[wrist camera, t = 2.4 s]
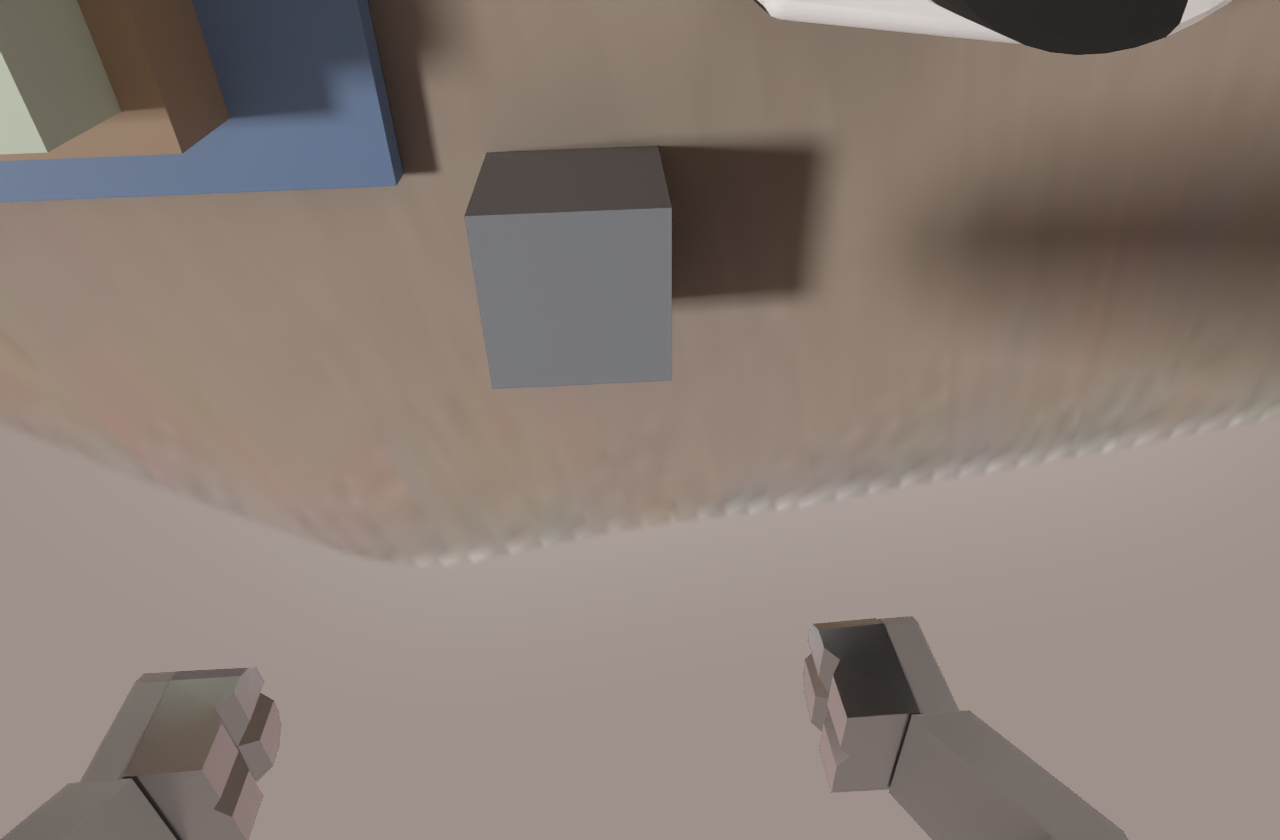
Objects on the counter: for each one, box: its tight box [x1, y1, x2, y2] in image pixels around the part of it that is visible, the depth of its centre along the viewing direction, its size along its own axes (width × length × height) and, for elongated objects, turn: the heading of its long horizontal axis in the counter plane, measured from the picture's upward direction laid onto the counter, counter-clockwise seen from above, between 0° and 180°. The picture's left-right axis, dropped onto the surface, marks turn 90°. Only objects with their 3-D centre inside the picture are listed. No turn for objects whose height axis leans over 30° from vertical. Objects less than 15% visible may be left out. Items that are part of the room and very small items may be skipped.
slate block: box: [464, 146, 672, 389], centre depth 22 cm, size 5×5×5 cm
